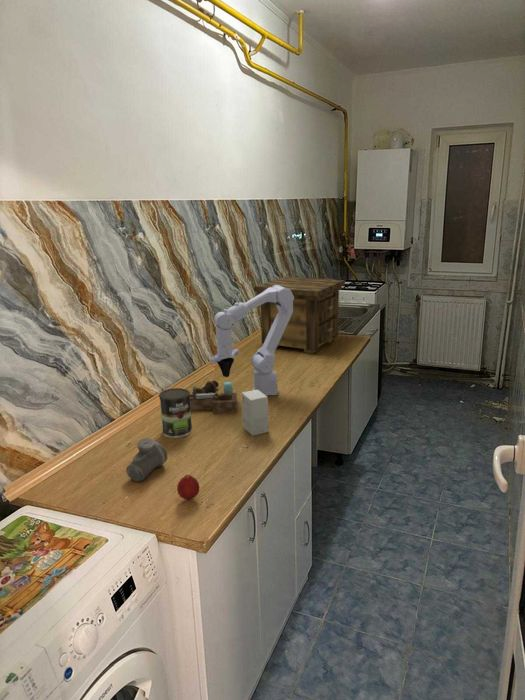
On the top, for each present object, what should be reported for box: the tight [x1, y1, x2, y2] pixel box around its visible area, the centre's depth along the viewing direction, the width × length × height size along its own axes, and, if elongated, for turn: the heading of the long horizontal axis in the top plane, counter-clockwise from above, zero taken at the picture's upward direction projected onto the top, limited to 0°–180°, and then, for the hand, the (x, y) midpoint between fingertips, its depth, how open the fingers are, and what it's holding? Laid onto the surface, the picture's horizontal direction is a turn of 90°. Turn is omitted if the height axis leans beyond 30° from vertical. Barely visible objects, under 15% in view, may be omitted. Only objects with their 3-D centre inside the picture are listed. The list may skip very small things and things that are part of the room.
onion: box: [176, 473, 200, 502], centre depth 136 cm, size 6×6×8 cm
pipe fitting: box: [125, 437, 168, 483], centre depth 150 cm, size 12×8×10 cm
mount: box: [190, 392, 238, 414], centre depth 195 cm, size 18×9×5 cm, turn 92°
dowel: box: [222, 381, 234, 393], centre depth 204 cm, size 4×4×6 cm
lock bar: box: [192, 385, 216, 400], centre depth 193 cm, size 8×3×4 cm, turn 92°
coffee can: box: [158, 387, 193, 439], centre depth 175 cm, size 10×10×14 cm
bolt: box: [191, 380, 219, 394], centre depth 208 cm, size 6×5×15 cm
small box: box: [241, 389, 270, 437], centre depth 175 cm, size 8×6×13 cm
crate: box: [253, 275, 346, 354], centre depth 269 cm, size 35×35×33 cm
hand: (226, 376), depth 201 cm, fingers closed
